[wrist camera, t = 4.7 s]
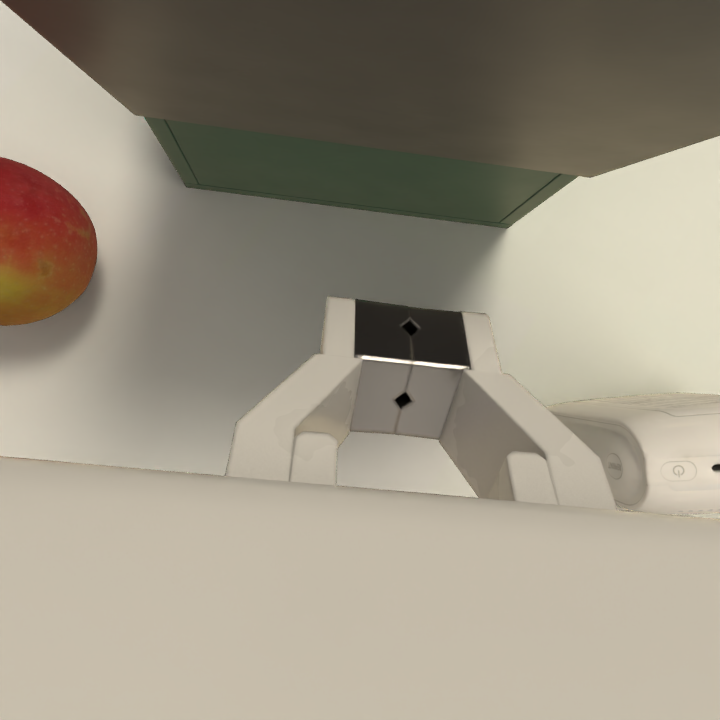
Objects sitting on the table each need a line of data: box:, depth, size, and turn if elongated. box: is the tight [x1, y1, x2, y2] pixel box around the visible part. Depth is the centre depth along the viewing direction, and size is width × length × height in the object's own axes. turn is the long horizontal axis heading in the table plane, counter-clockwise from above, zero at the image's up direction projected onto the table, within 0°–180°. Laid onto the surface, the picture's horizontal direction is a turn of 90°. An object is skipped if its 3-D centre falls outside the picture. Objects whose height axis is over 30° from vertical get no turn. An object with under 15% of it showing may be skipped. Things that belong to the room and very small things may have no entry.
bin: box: [144, 117, 578, 228], centre depth 30 cm, size 15×18×10 cm
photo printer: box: [546, 393, 720, 515], centre depth 29 cm, size 10×4×12 cm, turn 94°
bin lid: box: [1, 0, 720, 178], centre depth 16 cm, size 15×18×1 cm
